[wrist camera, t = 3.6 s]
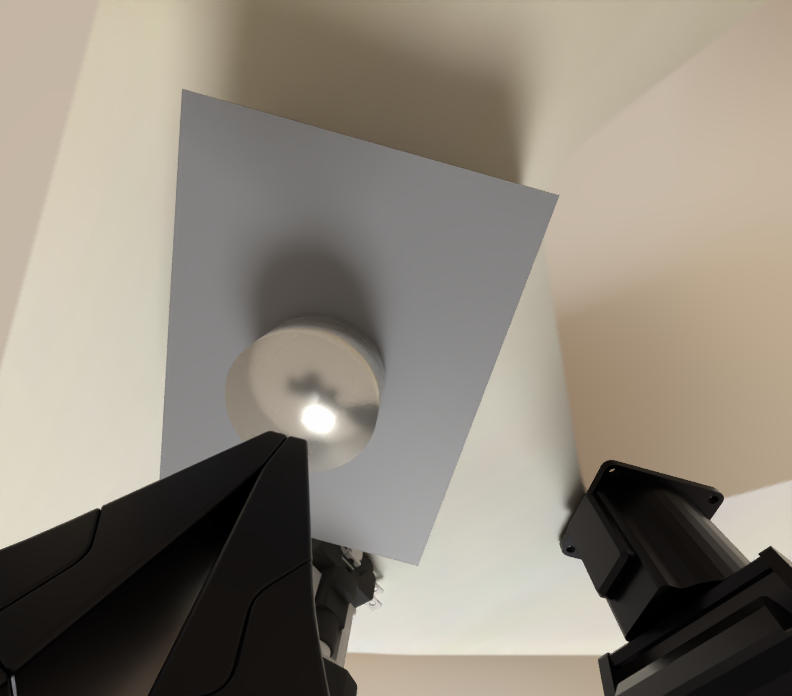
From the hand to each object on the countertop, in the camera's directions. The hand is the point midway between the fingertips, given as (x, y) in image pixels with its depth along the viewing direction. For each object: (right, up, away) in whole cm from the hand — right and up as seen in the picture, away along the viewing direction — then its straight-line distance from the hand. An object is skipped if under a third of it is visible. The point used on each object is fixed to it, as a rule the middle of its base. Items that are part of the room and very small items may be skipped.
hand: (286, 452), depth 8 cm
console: (0, +3, +11) cm, 11 cm away
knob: (0, +3, +11) cm, 11 cm away
